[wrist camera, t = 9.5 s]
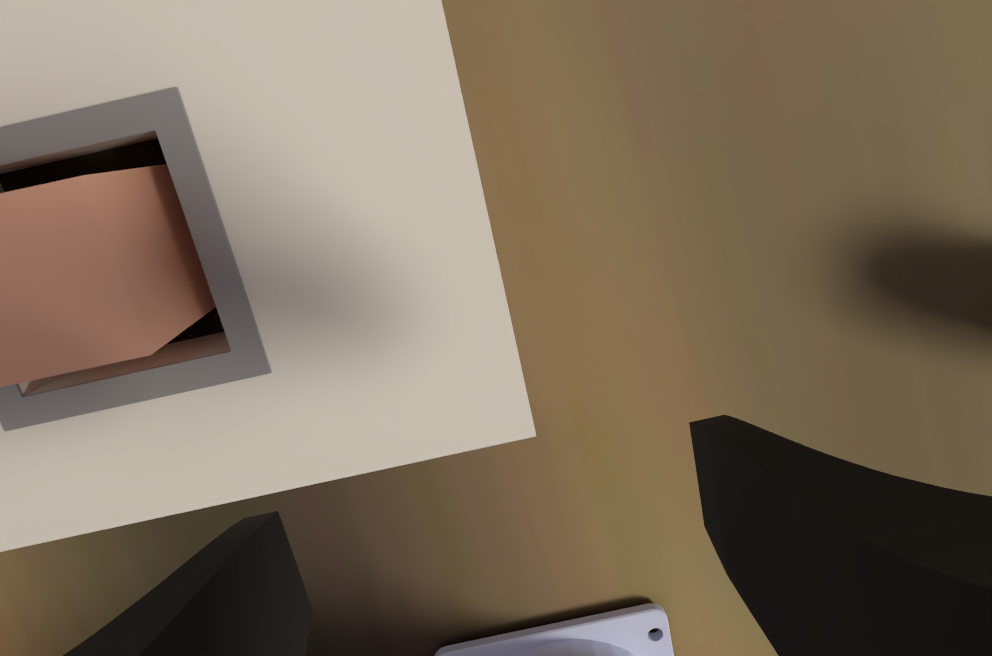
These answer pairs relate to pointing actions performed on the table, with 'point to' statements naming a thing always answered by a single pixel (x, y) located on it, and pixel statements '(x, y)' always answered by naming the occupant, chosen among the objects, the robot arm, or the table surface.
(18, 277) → the plug block
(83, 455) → the outlet block
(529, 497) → the table surface
